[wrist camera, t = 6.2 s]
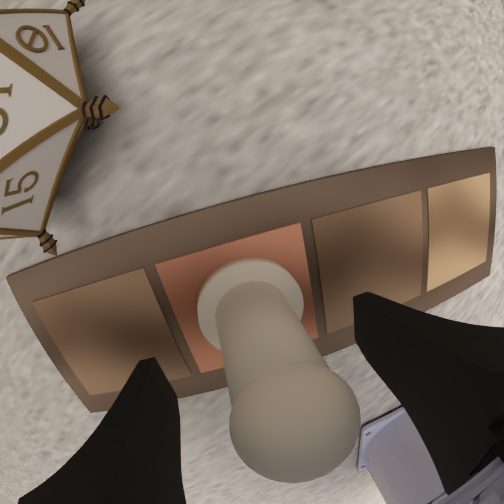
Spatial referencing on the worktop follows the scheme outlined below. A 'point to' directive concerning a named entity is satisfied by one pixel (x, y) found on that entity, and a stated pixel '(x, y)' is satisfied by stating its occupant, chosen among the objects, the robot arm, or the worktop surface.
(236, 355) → the pawn
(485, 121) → the worktop surface
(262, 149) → the worktop surface
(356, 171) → the board
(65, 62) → the game die
